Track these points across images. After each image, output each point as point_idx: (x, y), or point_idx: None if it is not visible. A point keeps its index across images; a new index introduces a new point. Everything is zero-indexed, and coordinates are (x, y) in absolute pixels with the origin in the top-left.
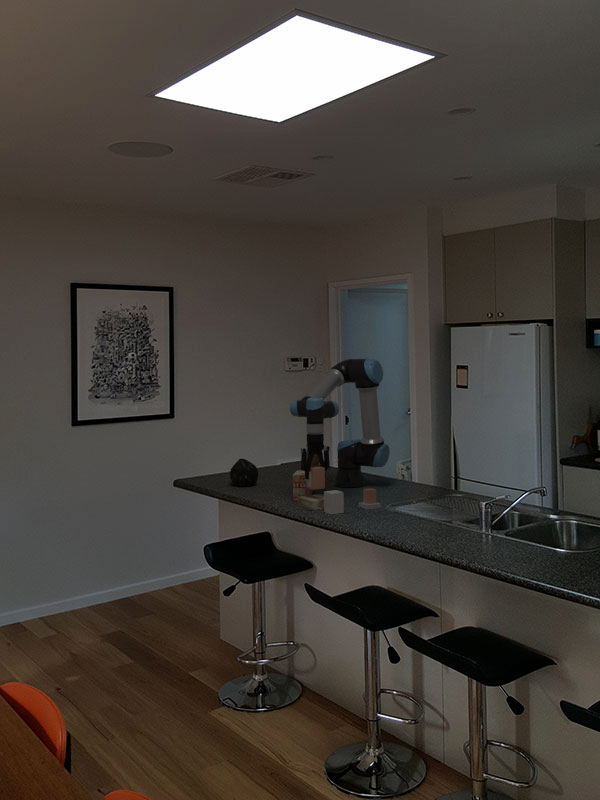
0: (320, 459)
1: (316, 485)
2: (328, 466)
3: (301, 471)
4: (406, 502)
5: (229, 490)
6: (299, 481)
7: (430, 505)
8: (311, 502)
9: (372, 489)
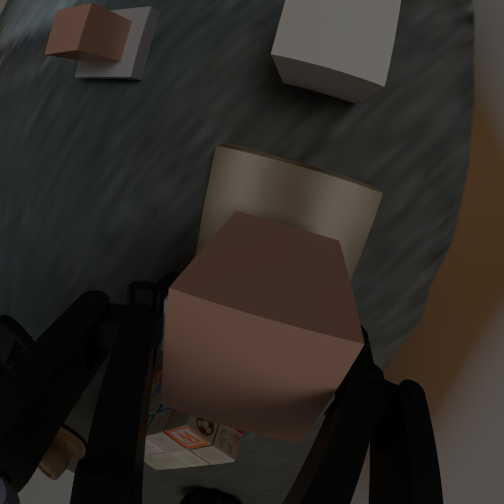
0: (141, 431)
1: (310, 241)
2: (90, 305)
3: (154, 457)
4: (10, 64)
5: (276, 497)
6: None
7: (14, 3)
8: (377, 190)
9: (62, 20)
